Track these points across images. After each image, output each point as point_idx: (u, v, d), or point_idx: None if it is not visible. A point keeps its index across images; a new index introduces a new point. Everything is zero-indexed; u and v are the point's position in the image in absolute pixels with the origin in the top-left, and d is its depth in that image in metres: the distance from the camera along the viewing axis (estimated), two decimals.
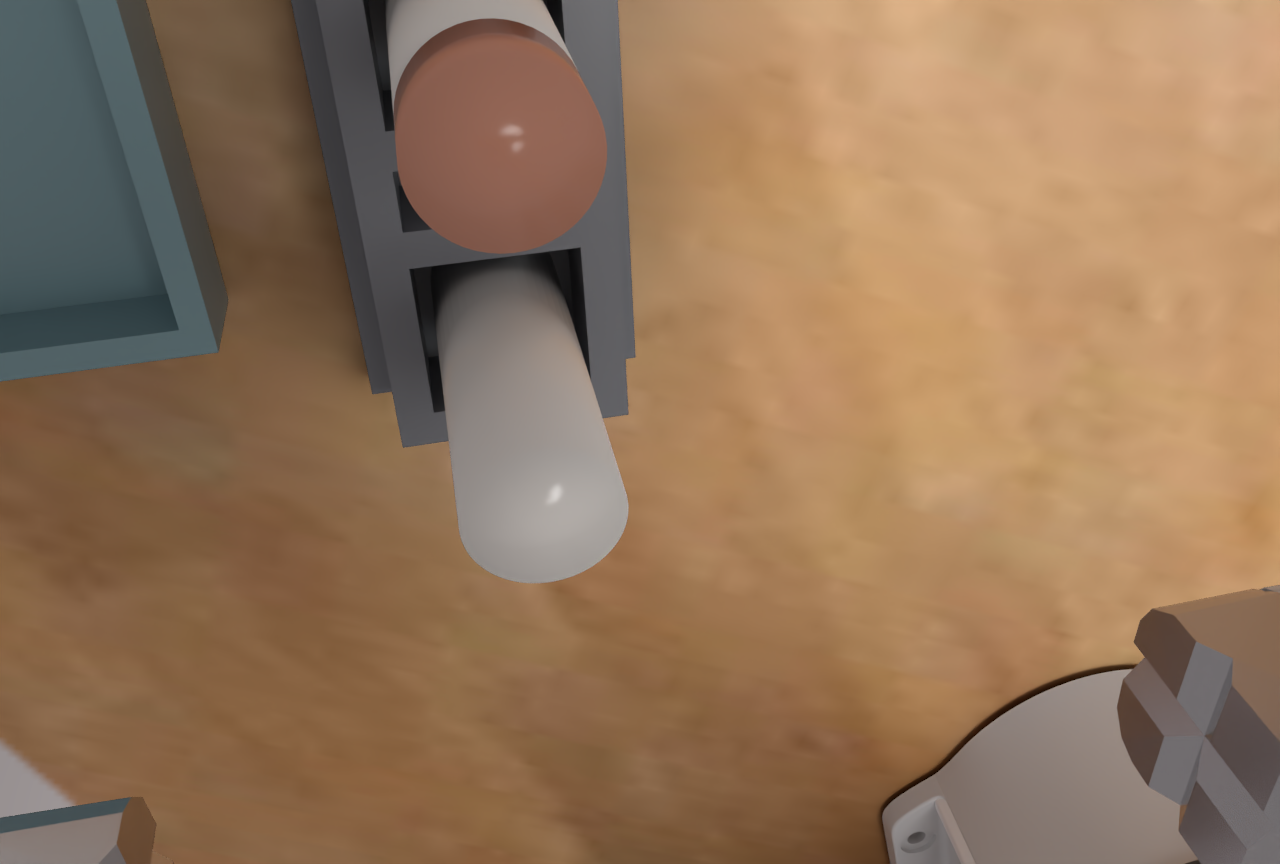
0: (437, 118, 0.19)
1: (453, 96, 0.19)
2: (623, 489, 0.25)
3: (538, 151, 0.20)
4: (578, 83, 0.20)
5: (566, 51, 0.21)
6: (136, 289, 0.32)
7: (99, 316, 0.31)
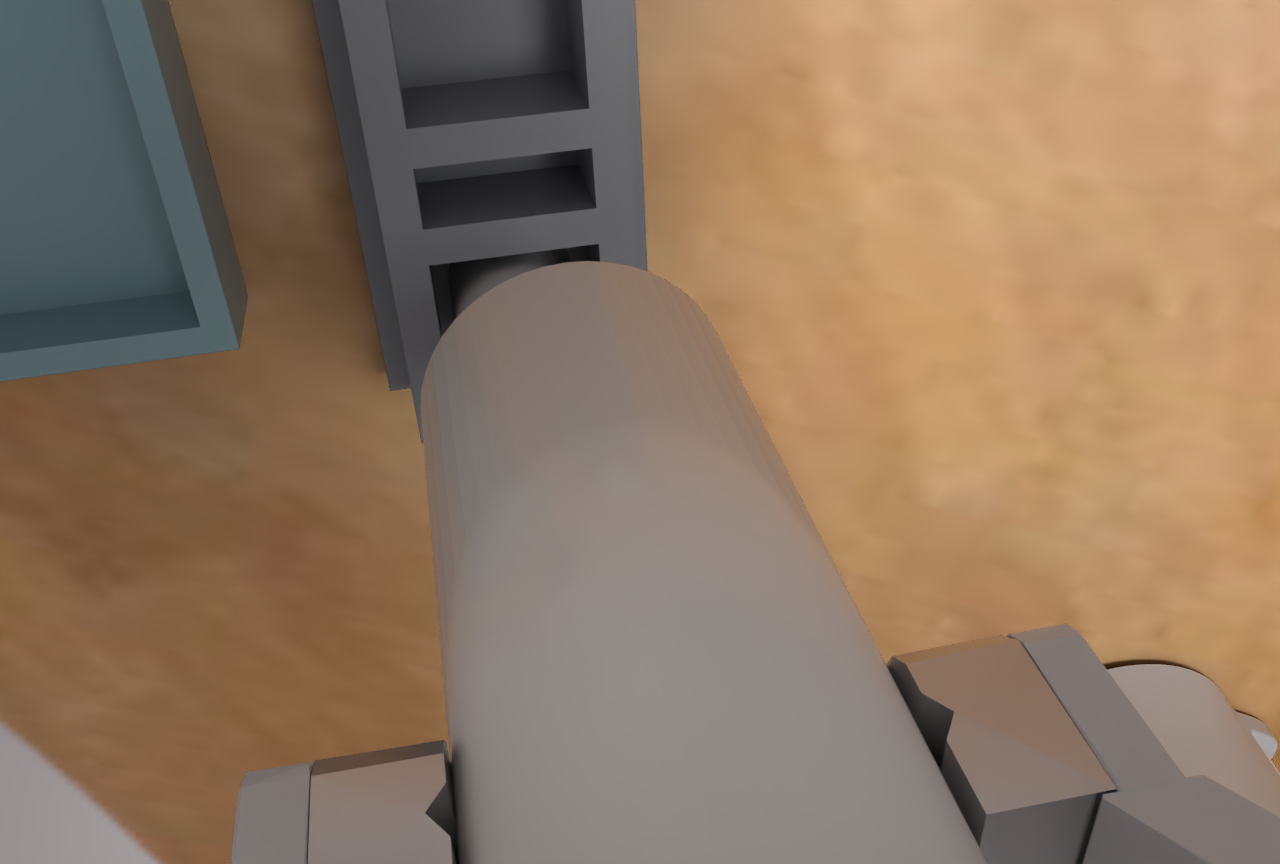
0: None
1: None
2: None
3: None
4: None
5: None
6: (157, 286, 0.32)
7: (121, 313, 0.31)
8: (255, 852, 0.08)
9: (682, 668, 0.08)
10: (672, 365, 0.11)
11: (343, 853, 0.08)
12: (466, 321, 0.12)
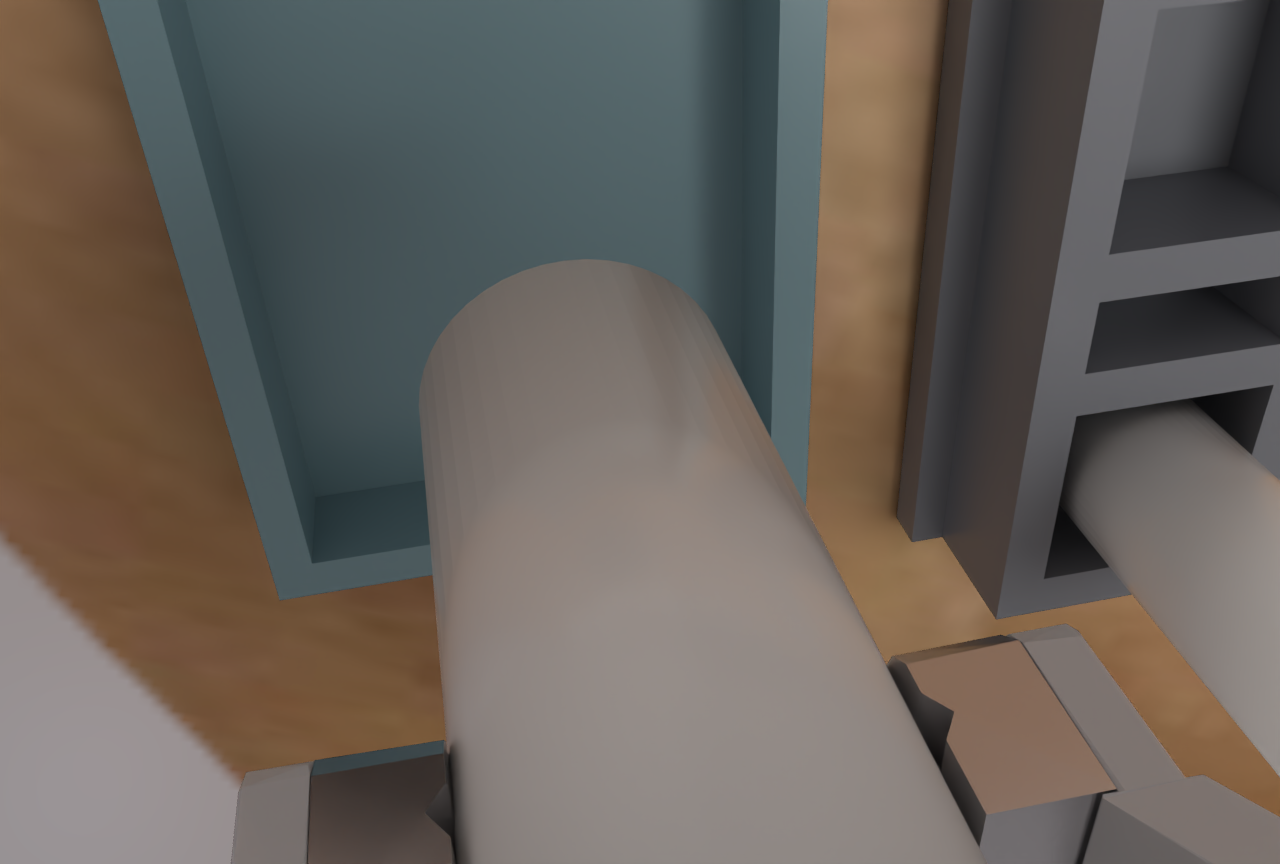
0: None
1: None
2: None
3: None
4: None
5: None
6: None
7: None
8: (255, 851, 0.08)
9: (681, 668, 0.08)
10: (670, 363, 0.11)
11: (343, 853, 0.08)
12: (464, 319, 0.12)
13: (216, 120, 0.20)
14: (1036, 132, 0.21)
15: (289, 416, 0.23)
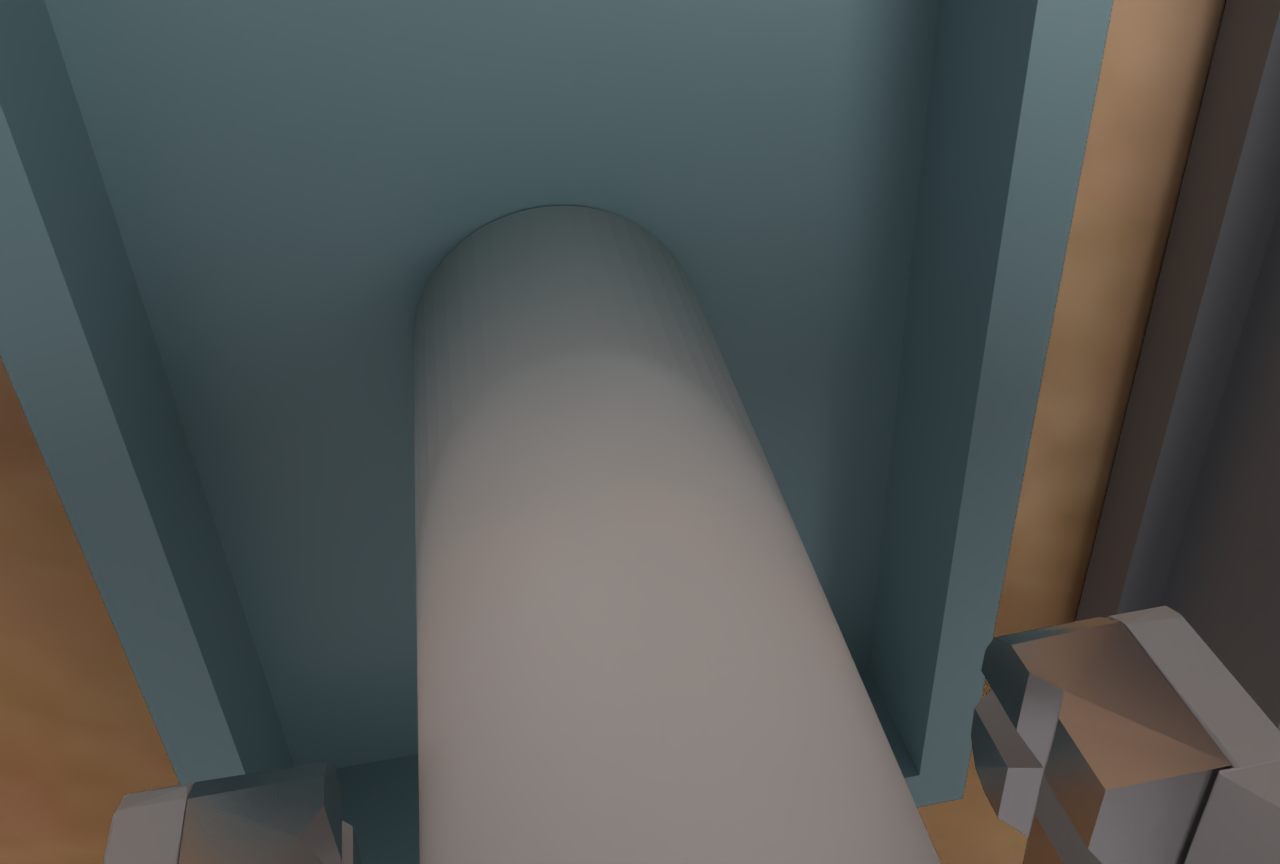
0: None
1: None
2: None
3: None
4: None
5: None
6: None
7: None
8: None
9: (609, 532, 0.09)
10: (634, 295, 0.12)
11: None
12: (453, 258, 0.14)
13: (146, 317, 0.13)
14: None
15: (260, 695, 0.16)
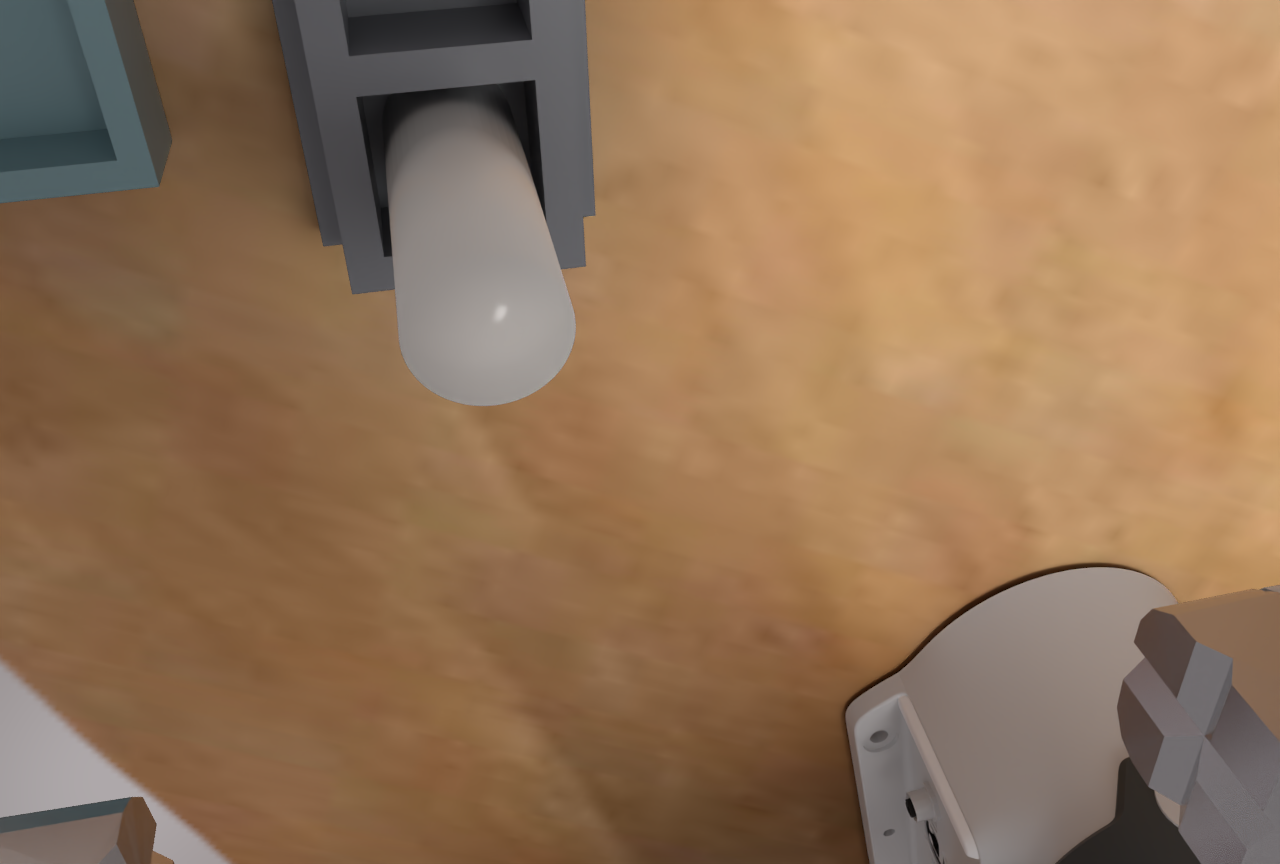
0: None
1: None
2: (570, 304, 0.24)
3: None
4: None
5: None
6: (74, 123, 0.30)
7: (34, 148, 0.30)
8: None
9: None
10: None
11: None
12: None
13: None
14: None
15: None
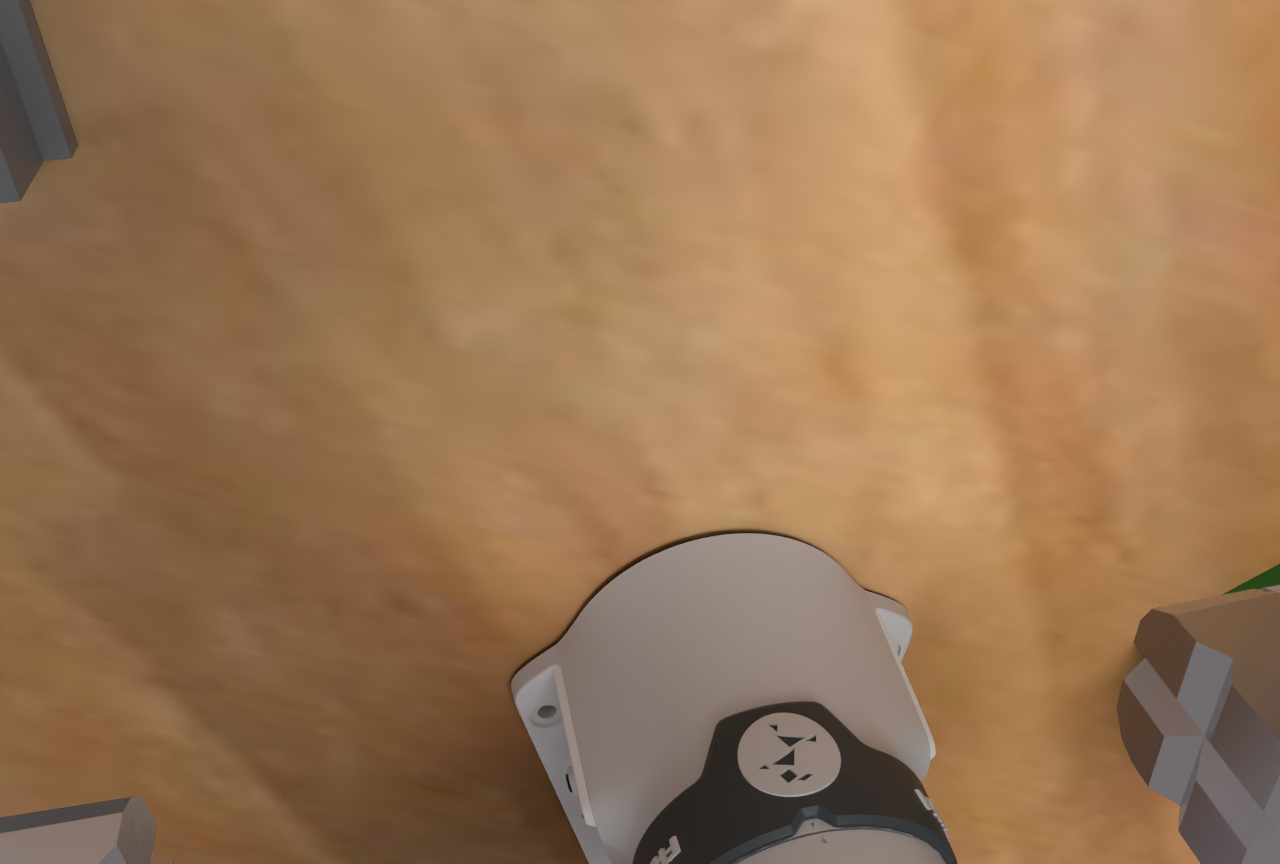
0: None
1: None
2: None
3: None
4: None
5: None
6: None
7: None
8: None
9: None
10: None
11: None
12: None
13: None
14: None
15: None
